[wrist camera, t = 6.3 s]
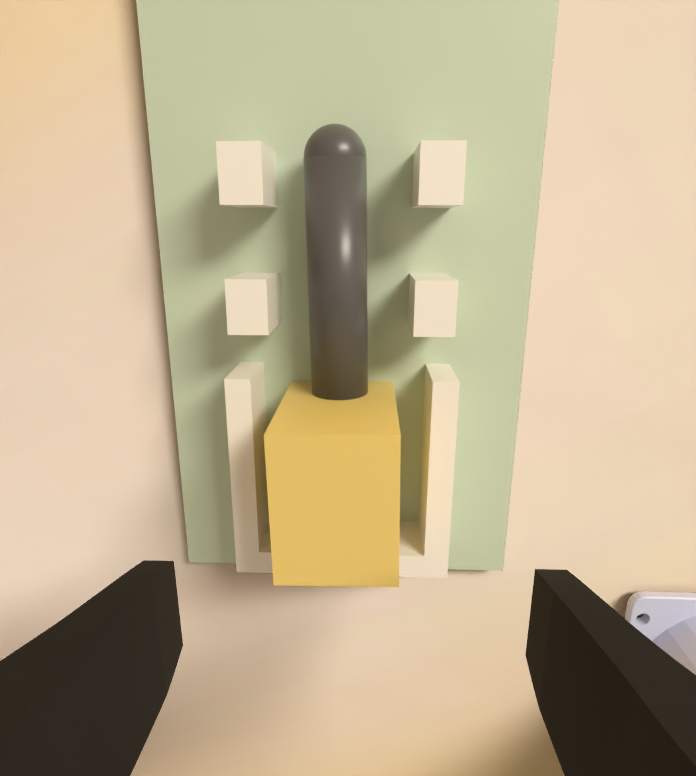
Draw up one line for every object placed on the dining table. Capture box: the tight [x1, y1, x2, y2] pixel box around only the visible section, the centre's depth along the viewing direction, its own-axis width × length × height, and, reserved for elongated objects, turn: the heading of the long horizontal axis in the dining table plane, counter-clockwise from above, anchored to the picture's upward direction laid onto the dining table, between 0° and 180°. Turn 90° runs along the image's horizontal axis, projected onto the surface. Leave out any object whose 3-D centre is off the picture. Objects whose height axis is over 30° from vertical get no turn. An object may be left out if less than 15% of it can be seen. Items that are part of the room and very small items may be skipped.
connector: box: [264, 124, 401, 587], centre depth 16 cm, size 12×4×5 cm, turn 1°
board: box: [136, 0, 559, 578], centre depth 17 cm, size 20×12×3 cm, turn 0°
